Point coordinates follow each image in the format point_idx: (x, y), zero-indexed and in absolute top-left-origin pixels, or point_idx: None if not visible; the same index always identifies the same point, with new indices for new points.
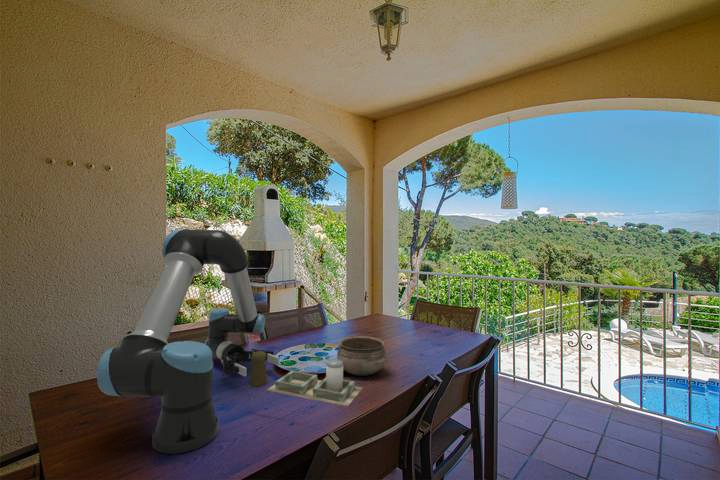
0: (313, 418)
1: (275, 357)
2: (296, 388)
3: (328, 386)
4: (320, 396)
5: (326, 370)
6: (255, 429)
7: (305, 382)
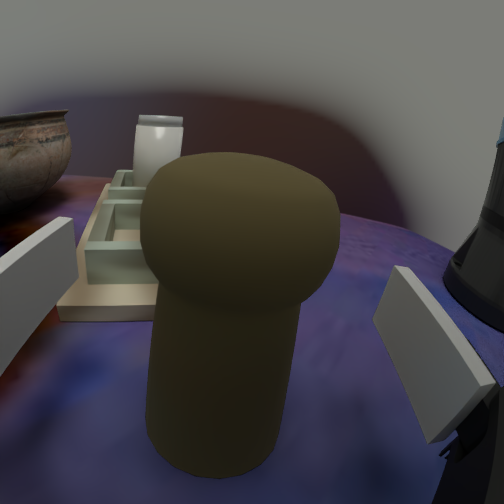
0: None
1: (52, 235)
2: None
3: None
4: None
5: (174, 140)
6: (376, 248)
7: None
